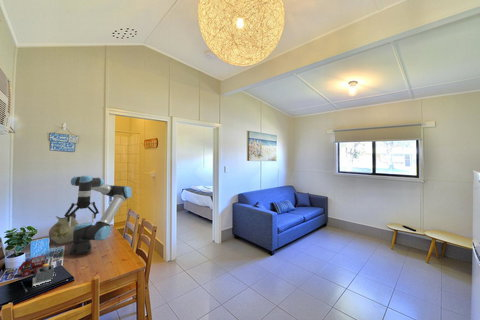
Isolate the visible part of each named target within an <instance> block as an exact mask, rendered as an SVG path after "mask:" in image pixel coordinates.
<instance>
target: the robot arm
mask: <svg viewBox="0 0 480 320" xmlns="http://www.w3.org/2000/svg"><path fill="white" fill-rule="evenodd" d="M70 184H71V185H72V186H75V187H78V193H77V202H75V203H74V202H72V203H71V205H70V207H69V208H68V209H67V211H66V212H65V213H64V217H67V221H68V222H69V226H71V217H70V216H72V215H73V214H74V213H75V214H76V212H78V210H79V209H80V210H83V209H88V210H89V211H90V212H91V213H92V215H91V222H82V223H81V222H80V223H79V224H78V225H76V226H75V227H74V232H73V240H72V243H71V246H70V247H69V250H68V255H70V256H78V255H84V254H87V253H89V252H91V251H92V249H93V246H92V242H91V241H96V242H97V241H105V240H106V239H107V238H108V237H109V236H110V235H111V231H112V228H111V223H112V222H113V220H114V217H115V216H116V215H117V213H118V211H119V209H120V207H121V205H122V204H123V203H124V202H126V201H127V199H130V198H131V197H132V195H133V192H132V188H131V187H130V186H124V185H111V184H110V185H109V184H105V181H104V179H103V178H102V177H93V176H92V175H81V176H73V177H72V178H71V180H70ZM92 191H95V192H99V193H100V194H102V195H104V196H107V197H112V201H110V204H109V206H108V207H107V209H106V210H105V212H104V213H103V215H102V216H101V218H100V220H97V221H96V222H95V223H94V221H95V220H96V217H97V214H100V212H99V210H98V207H97V206H96V203H95V201H91V195H92ZM90 205H92V207H93V208H91V207H90ZM75 206H76V207H75ZM74 207H75V208H74ZM93 209H94V210H93Z"/></svg>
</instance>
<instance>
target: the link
mask: <svg viewBox="0 0 480 320" xmlns="http://www.w3.org/2000/svg"><path fill="white" fill-rule="evenodd" d="M42 270H43V267H42V268H37V271H36V274H35V278H36V284H37V283H41V282H44V281H48V280H51V279H53V276H54V273H55V266H54V264H51V265H50V264H49V270H46V271H42Z"/></svg>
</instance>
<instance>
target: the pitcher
mask: <svg viewBox="0 0 480 320" xmlns="http://www.w3.org/2000/svg"><path fill="white" fill-rule="evenodd" d="M70 217H71V226H69V222H68V221H67V217H65V216H64V217H60V216H57V215H56V216H55V218H56V219H57V222H56V223H54V225H52V226H51V227H50V229H49V231H48V235H49V238H50V239H51V240H52V241H53V242H54V243H55V244H57V245H58V244H66V243H70V242H73V232H74V227H75V226H76V225H78V224H80V223H79V222H78V220H76V218H77V215H76V212H75V213H74V214H73V215H72V216H70Z"/></svg>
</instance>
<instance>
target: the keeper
mask: <svg viewBox="0 0 480 320" xmlns="http://www.w3.org/2000/svg"><path fill="white" fill-rule="evenodd" d="M49 266H50V263H49V262H48V263H45V264H44V265H43V270H42V271H46V270H49ZM49 281H51V280H48V281H44V282H41V283H37V284H36V277H33V278H32V287H33V286H35V287H37V286H36V285H39V286H41V285H40V284H42V283H45V282H49Z"/></svg>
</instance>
